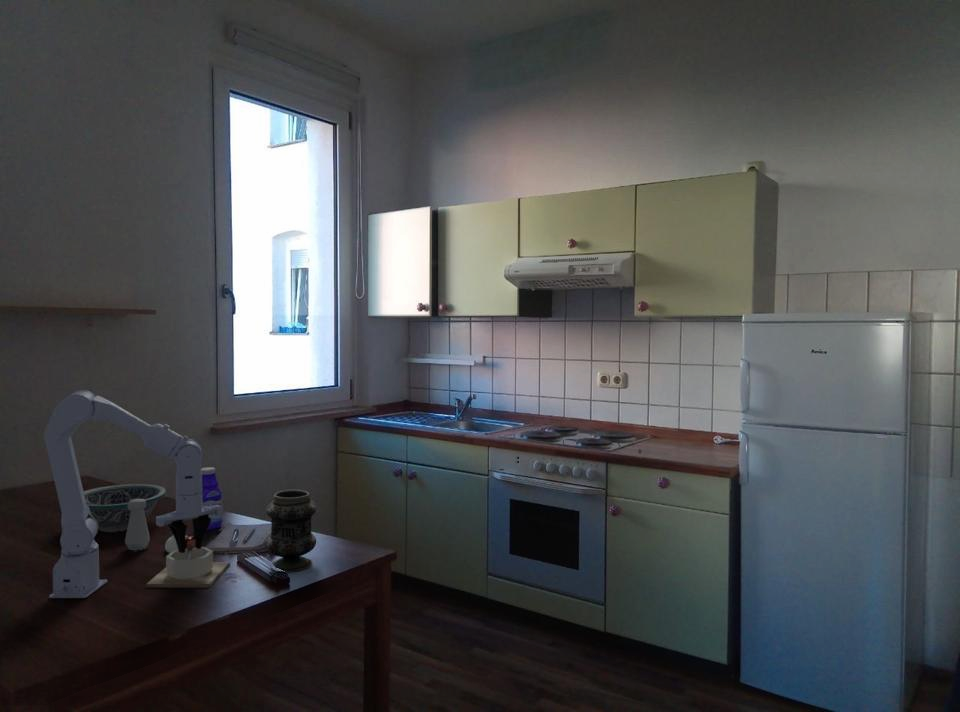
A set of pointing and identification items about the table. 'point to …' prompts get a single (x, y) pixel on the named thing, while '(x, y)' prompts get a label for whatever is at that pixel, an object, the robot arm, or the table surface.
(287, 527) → the apothecary jar
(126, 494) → the bowl
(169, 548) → the garlic bulb
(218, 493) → the bottle
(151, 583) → the board
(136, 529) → the salt shaker
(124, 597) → the table surface
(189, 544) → the plunger
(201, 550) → the press carafe
